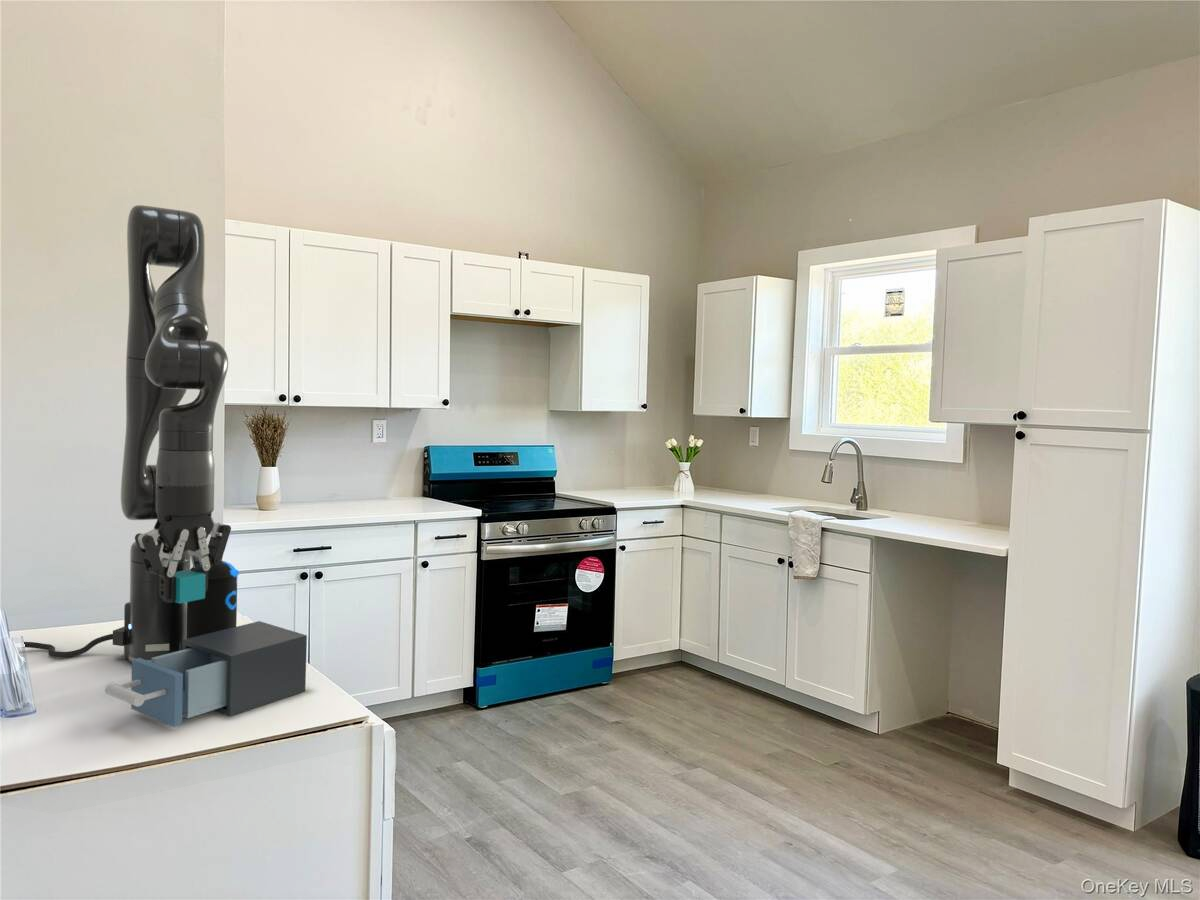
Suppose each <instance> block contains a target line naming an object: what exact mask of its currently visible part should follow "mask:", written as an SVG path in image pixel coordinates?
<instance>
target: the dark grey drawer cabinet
mask: <svg viewBox="0 0 1200 900" xmlns="http://www.w3.org/2000/svg"><path fill="white" fill-rule="evenodd" d="M307 640H308V635H306V634H303V633H300V632H297V631H294V630H290V629H287V628H284V627H282V626H281V627H280V626H277V625H274V624H271V623H267V622H264V621H262V620H261V621H260V620H257V621H254V622H251V623H245V624H242V625H238V626H237V625H236V627H233V628H229V629H225V630H221V631H217V632H213V633H208V634H204V635H200V636H196V637H192V638H188V639H184V640H183V650H185V649H189V648H194V649H197V650H200V651H203V652H206V653H209V654H212V655H215V656H218V657H220V658H223V659H226V660H228V674H227V706H224V707H221V708H218V709H215V710H214V711H215V712H216V713H220V714H222V715H225V716H228V717H233V716H236V715H239V714H242V713H245V712H247V711H251V710H254V709H257V708H259V707H260V708H261V707H263V706H266V705H269V704H271V703H275V702H277V701H281V700H283V699H286V698H289V697H292V696H295V695H298V694H301V693H305V692H306V682H307V681H306V679H307V677H306V676H307V645H308V643H307V642H308V641H307Z"/></svg>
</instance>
